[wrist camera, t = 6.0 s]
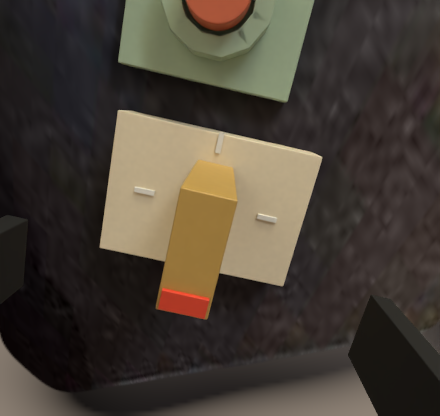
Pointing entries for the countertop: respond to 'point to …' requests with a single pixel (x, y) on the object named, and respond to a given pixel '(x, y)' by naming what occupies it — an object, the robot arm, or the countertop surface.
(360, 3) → the countertop surface
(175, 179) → the plate
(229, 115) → the countertop surface
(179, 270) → the thumbturn
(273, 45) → the green push button box
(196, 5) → the bell button
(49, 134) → the countertop surface
